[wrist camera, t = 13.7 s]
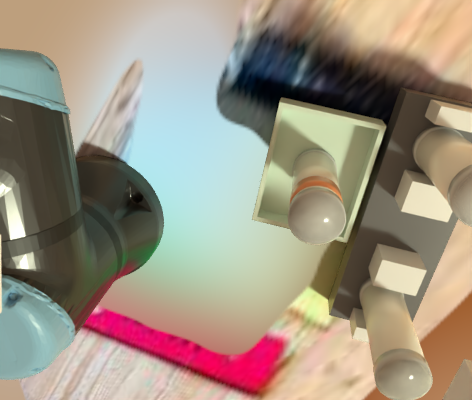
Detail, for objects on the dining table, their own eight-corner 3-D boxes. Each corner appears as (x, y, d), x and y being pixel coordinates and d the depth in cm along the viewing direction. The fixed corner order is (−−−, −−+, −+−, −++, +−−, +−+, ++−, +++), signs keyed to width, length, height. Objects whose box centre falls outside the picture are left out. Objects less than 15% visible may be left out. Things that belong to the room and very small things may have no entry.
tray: (254, 208, 51) (251, 219, 48) (281, 97, 46) (279, 102, 43) (344, 230, 50) (346, 243, 48) (381, 119, 45) (386, 126, 42)
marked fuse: (288, 183, 48) (281, 237, 36) (298, 143, 47) (295, 186, 35) (329, 193, 48) (336, 250, 36) (341, 153, 46) (353, 200, 34)
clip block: (328, 300, 54) (330, 334, 48) (400, 87, 44) (415, 97, 38) (401, 318, 53) (413, 355, 48) (492, 107, 43) (521, 121, 37)
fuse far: (353, 304, 50) (368, 392, 38) (366, 270, 48) (385, 352, 37) (393, 314, 50) (420, 406, 38) (408, 281, 48) (441, 366, 36)
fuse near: (405, 165, 44) (441, 220, 32) (422, 120, 42) (467, 159, 30) (452, 176, 43) (506, 235, 31) (470, 131, 41) (536, 175, 30)
